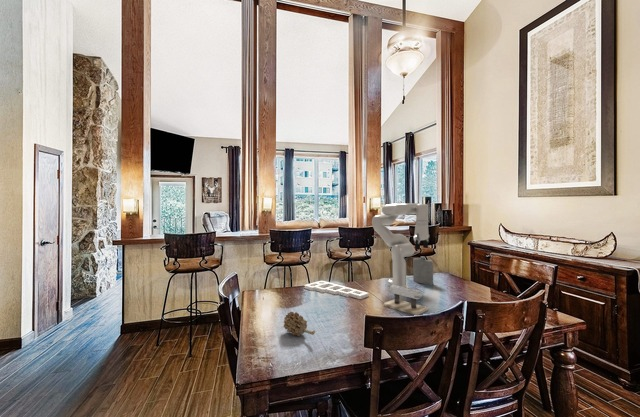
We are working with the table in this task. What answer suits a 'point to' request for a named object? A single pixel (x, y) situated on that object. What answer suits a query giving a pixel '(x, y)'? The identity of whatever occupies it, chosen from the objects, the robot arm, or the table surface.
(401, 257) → the robot arm
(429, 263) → the hip flask
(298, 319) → the pine cone
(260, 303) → the table surface
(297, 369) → the table surface
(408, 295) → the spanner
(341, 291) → the holder
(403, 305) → the peg board
